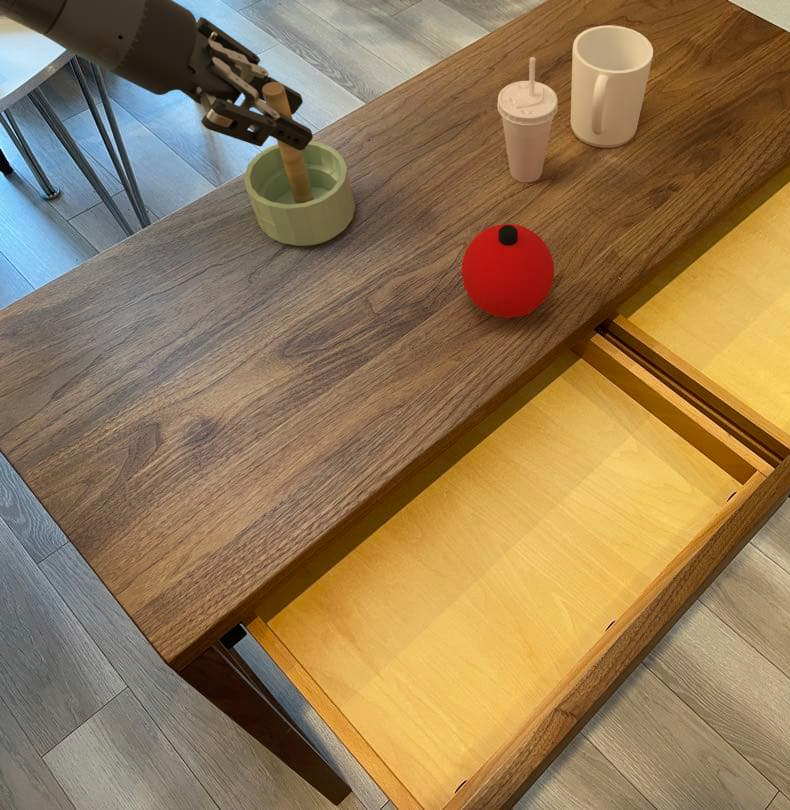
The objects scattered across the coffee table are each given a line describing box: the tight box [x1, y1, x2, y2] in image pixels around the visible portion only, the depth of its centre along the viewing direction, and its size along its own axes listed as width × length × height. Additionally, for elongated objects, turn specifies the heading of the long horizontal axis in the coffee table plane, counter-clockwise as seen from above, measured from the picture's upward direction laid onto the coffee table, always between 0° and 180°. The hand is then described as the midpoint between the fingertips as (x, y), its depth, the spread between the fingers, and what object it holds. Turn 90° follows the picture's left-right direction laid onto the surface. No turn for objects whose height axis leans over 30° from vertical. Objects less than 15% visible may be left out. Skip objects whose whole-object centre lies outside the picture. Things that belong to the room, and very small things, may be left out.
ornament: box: [461, 223, 555, 319], centre depth 75 cm, size 9×9×10 cm
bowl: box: [243, 140, 356, 247], centre depth 82 cm, size 10×10×6 cm
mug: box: [570, 24, 654, 149], centre depth 90 cm, size 11×9×10 cm
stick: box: [262, 81, 314, 204], centre depth 78 cm, size 2×2×15 cm
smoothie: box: [496, 56, 559, 183], centre depth 84 cm, size 6×6×14 cm
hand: (301, 122), depth 75 cm, fingers open, 5 cm apart
